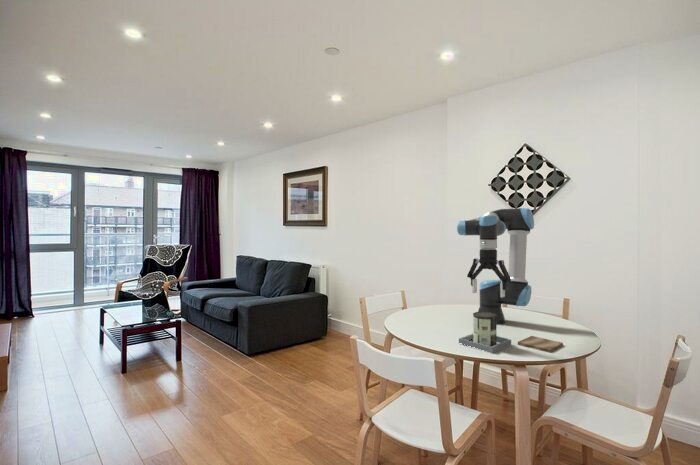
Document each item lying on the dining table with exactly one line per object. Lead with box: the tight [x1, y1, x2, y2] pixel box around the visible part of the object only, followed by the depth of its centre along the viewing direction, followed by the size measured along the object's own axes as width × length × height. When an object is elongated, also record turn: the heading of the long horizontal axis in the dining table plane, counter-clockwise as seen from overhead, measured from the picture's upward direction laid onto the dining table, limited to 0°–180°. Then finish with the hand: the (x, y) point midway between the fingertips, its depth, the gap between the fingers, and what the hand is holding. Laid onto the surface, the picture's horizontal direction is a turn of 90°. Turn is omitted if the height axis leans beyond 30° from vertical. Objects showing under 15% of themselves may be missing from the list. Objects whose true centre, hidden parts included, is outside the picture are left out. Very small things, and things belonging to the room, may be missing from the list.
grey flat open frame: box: [458, 332, 512, 354], centre depth 168 cm, size 17×17×2 cm
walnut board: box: [517, 335, 564, 353], centre depth 166 cm, size 14×14×1 cm
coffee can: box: [472, 311, 498, 347], centre depth 168 cm, size 10×10×14 cm
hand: (488, 295), depth 167 cm, fingers open, 13 cm apart
